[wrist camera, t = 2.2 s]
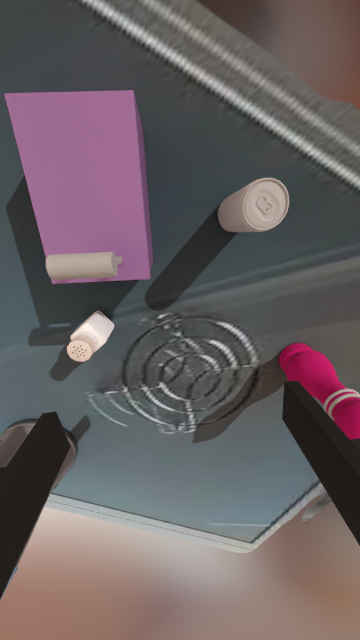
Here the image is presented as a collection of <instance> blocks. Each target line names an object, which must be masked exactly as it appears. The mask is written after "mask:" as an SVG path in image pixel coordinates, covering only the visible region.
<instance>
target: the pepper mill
mask: <svg viewBox="0 0 360 640" xmlns="http://www.w3.org/2000/svg"><path fill="white" fill-rule="evenodd" d="M279 364H280V366H281V368H282V369H283V370H284V371H285V372H286V376H287V379H288V380H289V381H296V380H298V381H299V382H300V383H301V384H302V385H303V387H304V388H305V389H306V390H307V391H308V392H309V393H310V395H311V396H313V397H315V398H317V399H318V400H319V401H320V402H321V403H322V404H323V406H324V411H325V412H326V413H327V414H328V415H329V416H330V417H331V419H332V420H333V421H334V422H335V423H336V424H337V425H338V427H339V428H340V429H341V430H342V431H343V432H344V433H345V434H346V436H347V437H348V438H349V439H358V438H360V395H359V393H358V392H356V391H355V390H352V389H347V388H346V387H344V386H343V385H342V384H341V383H340V381H339V380H338V378H337V375H336V372H335V369H334V367H333V365H332V364H331V362H330V361H329V360H328V359H327V358H326V357H325V356H324V355H323V354H322V353H320V352H317V351H313V350H312V349H311V348H310V347H309V346H307V345H306V344H303V343H295V344H291V345H289V346H288V347H286V348H285V349H284V350H283V351H282V352H281V354H280V356H279Z"/></svg>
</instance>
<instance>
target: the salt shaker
mask: <svg viewBox="0 0 360 640" xmlns="http://www.w3.org/2000/svg"><path fill="white" fill-rule="evenodd" d="M114 326H115V325H114V323H113V322H112V321H110V320H109V319H108V318H107V317H106V316H105V315H104V314H103V313H102V312H101V311H99V310H98V311H96V312H94V313H93V314H92V315H91V316H90V317H89V318H88V319H87V320H85V321H84V322H83V323H82V324H81V326H80V327H79V328H78V329H77V330H76V331H75V332H74V333H73V334H72V335H71V342H70V343H69V345H68V347H67V353H68V355H69V356H70V357H71V358H72V359H73V360H75V361H81V362H84V361H86V360H88V359H89V358H90V357H91V355H92V354H93V353H94V352H95V351H96V350H98V349H99V348H100V347H101V346H102V345H103V344H105V343H106V341H107V339H108V337H109V336H110V334H111V332H112V330H113V329H114Z"/></svg>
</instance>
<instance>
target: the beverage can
mask: <svg viewBox="0 0 360 640" xmlns="http://www.w3.org/2000/svg"><path fill="white" fill-rule="evenodd" d="M288 206H289V195H288V191H287V189H286V187H285V186H284V185H283V184H282V183H281V182H280V181H279V180H276V179H274V178H262V179H258V180H256V181H254V182H252V183H250V184H249V185H247V186H245V187H244V188H242V189H240V190H239V191H237V192H235V193H234V194H232V195H230V196H229V197H227V198H226V199H225V200H223V201H222V203H221V204H220V206H219V209H218V220H219V223H220V225H221V227H222V228H223V229H224V230H226V231H229V232H263V231H267V230H269V229H271V228H273V227H275V226H277V225H278V224H279V223H280V222H281V221H282V220H283V218H284V217H285V215H286V213H287V210H288Z"/></svg>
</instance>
